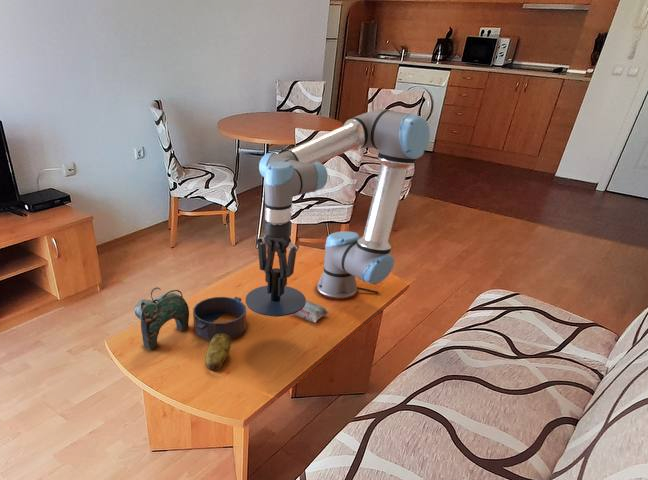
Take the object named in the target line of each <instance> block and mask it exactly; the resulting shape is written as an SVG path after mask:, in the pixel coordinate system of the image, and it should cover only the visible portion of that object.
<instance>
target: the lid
mask: <svg viewBox="0 0 648 480" xmlns="http://www.w3.org/2000/svg"><path fill="white" fill-rule="evenodd" d="M279 276H281V275H280V267H279V268H278V267H273V268H272V270H271V293H270V294H268V293H267V286H268V285H263V286H259V287H256V288H254V289H251V290H250V291H249V292H248V293H247V294H246V295H245V298H244V299H245V306H246V307H247V308H248V309H249V310H251V311H252V312H254V313H256V314H258V315H261V316H266V317H277V318H278V317H287V316H292V315H294V313H297V312H299V311H300V310H301V309H303V307H304V306H305V304H306V301H307V299H306V296H305V295H304V293H302V291H301V290H298V289H297V288H294V287H291V286H288V285H286V286H285V287H284V294H283V295H281V296H280V297H278V277H279Z"/></svg>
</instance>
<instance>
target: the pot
mask: <svg viewBox="0 0 648 480" xmlns="http://www.w3.org/2000/svg"><path fill="white" fill-rule="evenodd" d="M192 310H193V312H192V314H193V327H194V331H195V333H196V335H199V336H200V337H202V338H204V339H207V340H212V338H213V337H214V336H215V335H216V334H221V333H223V334H227V335H228V336H230V338H231V339H234V338H237V337H239V336H240V335H243V333H244V332H245V330H246V328H247V306H246V304H244V302H242V297H239V296H235V297H229V296H213V297H209V298H205V299H203V300H200V301H199V302H198V303H196V304H195V306H194V307H193V309H192ZM225 314H228V315H232V316H235V317H237V318H236V319H233V320H230V321H225V322H216V321H218V319H219V318H221V317H222V316H223V315H225Z"/></svg>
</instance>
